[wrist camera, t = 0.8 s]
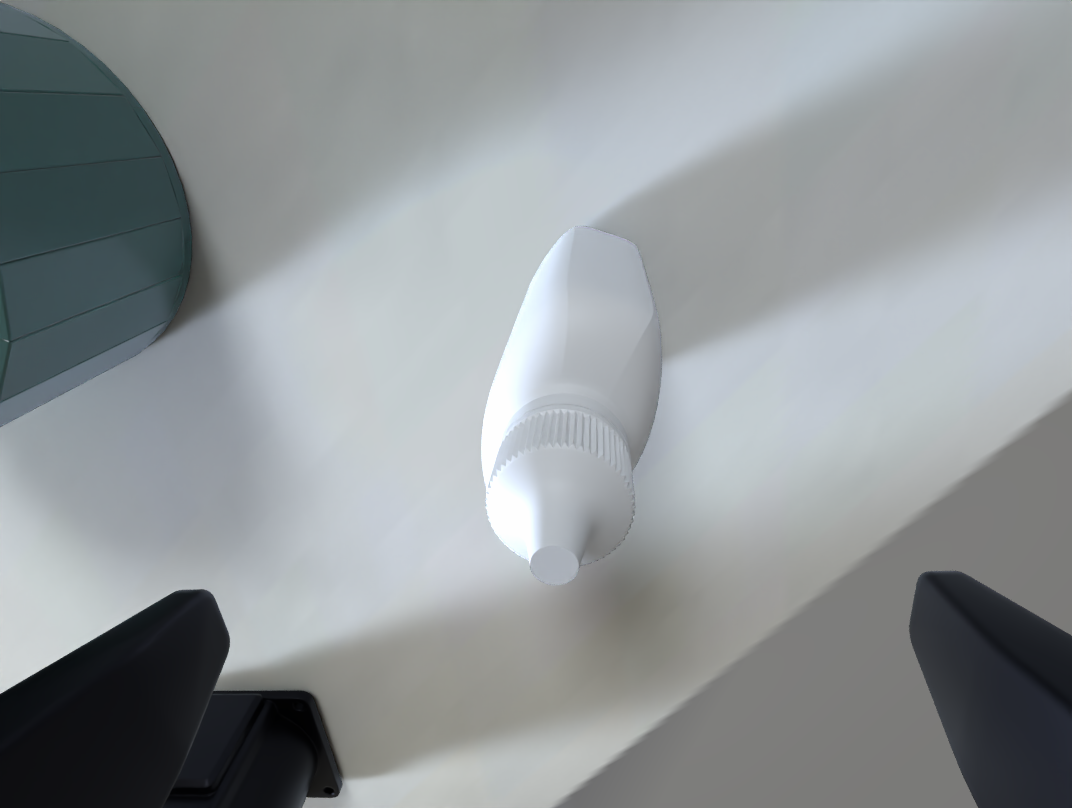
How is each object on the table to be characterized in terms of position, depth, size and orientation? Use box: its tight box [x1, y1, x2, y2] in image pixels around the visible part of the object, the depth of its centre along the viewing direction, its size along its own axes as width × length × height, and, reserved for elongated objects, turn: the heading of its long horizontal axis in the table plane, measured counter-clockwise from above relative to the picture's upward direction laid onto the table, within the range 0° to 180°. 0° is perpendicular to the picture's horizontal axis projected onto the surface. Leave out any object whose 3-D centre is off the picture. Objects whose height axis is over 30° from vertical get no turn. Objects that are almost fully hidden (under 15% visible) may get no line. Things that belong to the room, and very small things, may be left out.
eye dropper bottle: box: [481, 226, 662, 585], centre depth 14 cm, size 4×6×12 cm
